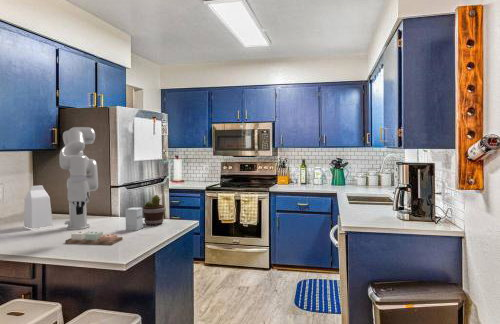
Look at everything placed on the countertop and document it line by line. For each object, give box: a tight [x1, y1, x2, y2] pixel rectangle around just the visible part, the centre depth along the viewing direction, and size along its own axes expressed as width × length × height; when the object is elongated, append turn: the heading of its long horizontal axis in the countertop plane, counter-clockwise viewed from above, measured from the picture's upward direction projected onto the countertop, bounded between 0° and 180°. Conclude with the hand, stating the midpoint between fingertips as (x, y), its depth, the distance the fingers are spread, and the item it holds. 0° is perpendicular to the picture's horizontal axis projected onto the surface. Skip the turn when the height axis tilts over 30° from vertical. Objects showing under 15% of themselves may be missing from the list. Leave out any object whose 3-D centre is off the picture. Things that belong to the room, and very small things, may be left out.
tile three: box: [100, 233, 118, 241], centre depth 183 cm, size 6×6×3 cm
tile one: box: [70, 230, 90, 240], centre depth 186 cm, size 6×6×3 cm
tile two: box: [85, 231, 104, 240], centre depth 184 cm, size 6×6×3 cm
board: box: [64, 236, 124, 246], centre depth 185 cm, size 26×10×2 cm, turn 80°
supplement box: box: [124, 207, 144, 232], centre depth 212 cm, size 7×7×13 cm
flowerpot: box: [141, 193, 166, 226], centre depth 226 cm, size 14×15×20 cm
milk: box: [23, 184, 54, 229], centre depth 222 cm, size 12×12×26 cm
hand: (79, 214), depth 185 cm, fingers closed
